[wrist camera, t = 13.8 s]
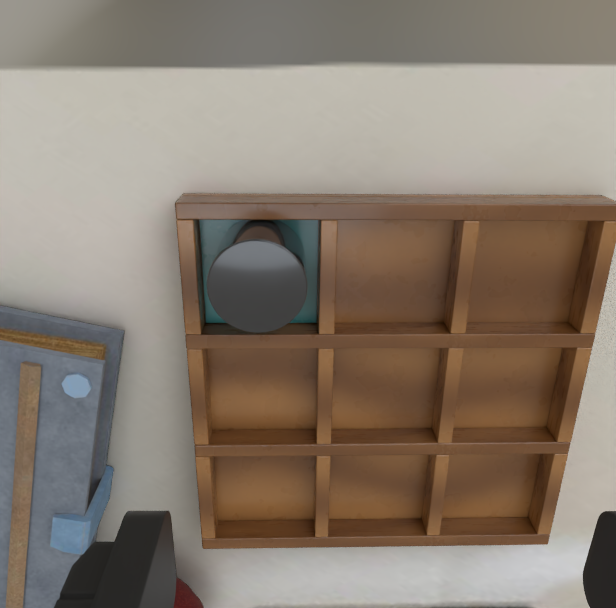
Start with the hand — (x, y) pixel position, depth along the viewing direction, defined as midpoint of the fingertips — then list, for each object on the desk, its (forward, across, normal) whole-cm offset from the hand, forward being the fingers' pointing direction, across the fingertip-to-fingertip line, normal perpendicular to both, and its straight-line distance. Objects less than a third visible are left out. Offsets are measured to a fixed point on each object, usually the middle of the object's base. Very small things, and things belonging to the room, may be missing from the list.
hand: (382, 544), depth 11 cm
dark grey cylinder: (+19, +3, +1) cm, 19 cm away
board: (+20, -3, +8) cm, 22 cm away
